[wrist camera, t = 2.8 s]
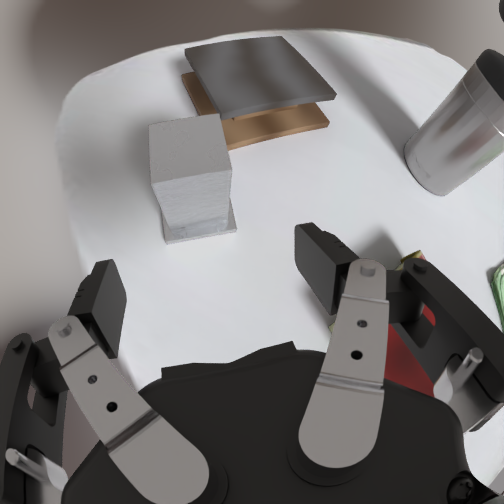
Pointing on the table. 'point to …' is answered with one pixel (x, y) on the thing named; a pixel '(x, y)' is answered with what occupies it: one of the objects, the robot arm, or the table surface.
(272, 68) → the stand
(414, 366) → the hardcover book
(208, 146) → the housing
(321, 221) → the table surface
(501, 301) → the dish towel
